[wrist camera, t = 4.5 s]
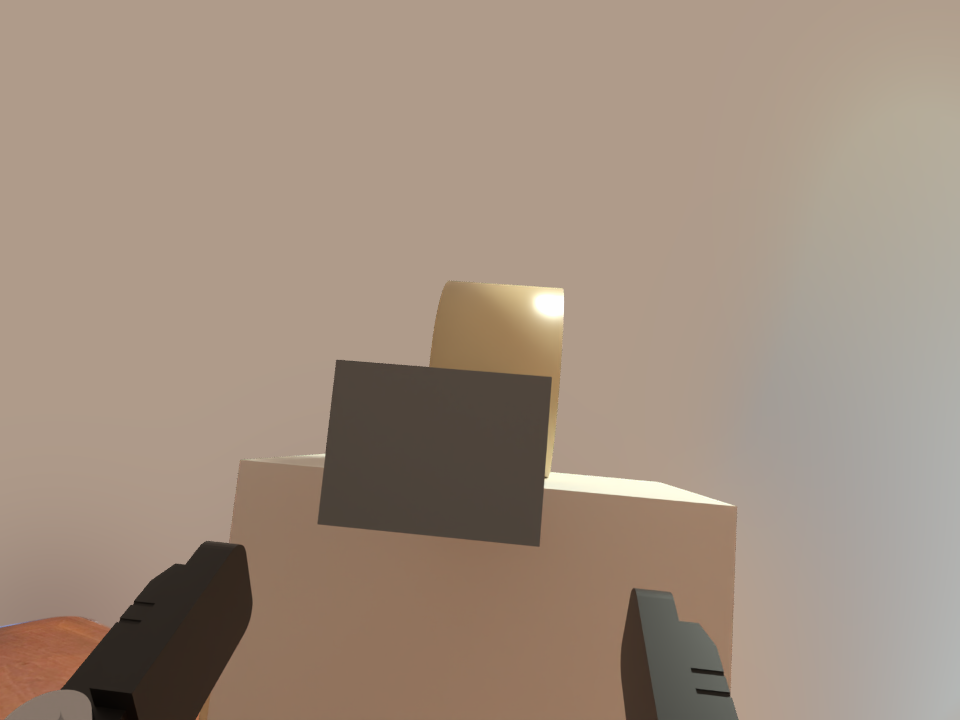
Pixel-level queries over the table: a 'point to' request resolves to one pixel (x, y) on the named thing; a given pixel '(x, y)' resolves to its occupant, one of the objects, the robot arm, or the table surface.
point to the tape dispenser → (452, 423)
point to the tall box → (461, 603)
